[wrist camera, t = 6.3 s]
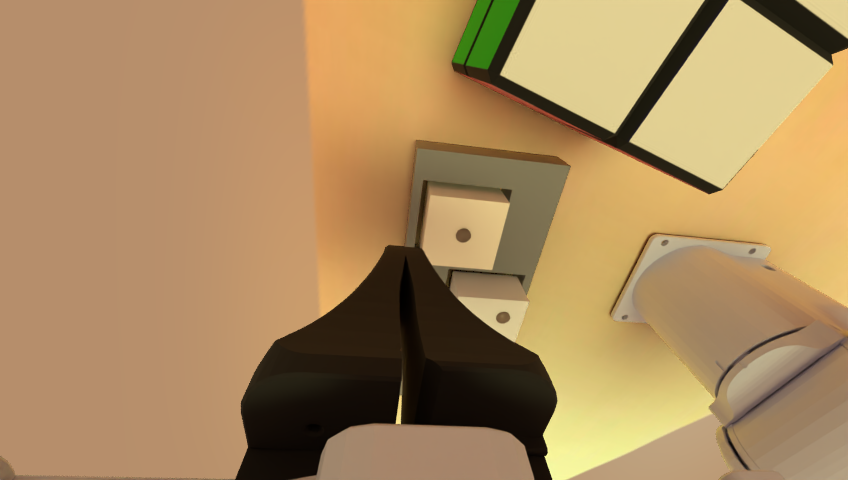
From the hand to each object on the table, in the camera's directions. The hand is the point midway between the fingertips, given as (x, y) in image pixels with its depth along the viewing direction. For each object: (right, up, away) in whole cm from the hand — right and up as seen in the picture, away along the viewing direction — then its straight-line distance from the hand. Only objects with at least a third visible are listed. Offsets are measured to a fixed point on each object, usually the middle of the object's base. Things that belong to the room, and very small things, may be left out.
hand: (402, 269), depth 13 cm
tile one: (+3, +3, +10) cm, 11 cm away
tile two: (+5, -3, +12) cm, 13 cm away
